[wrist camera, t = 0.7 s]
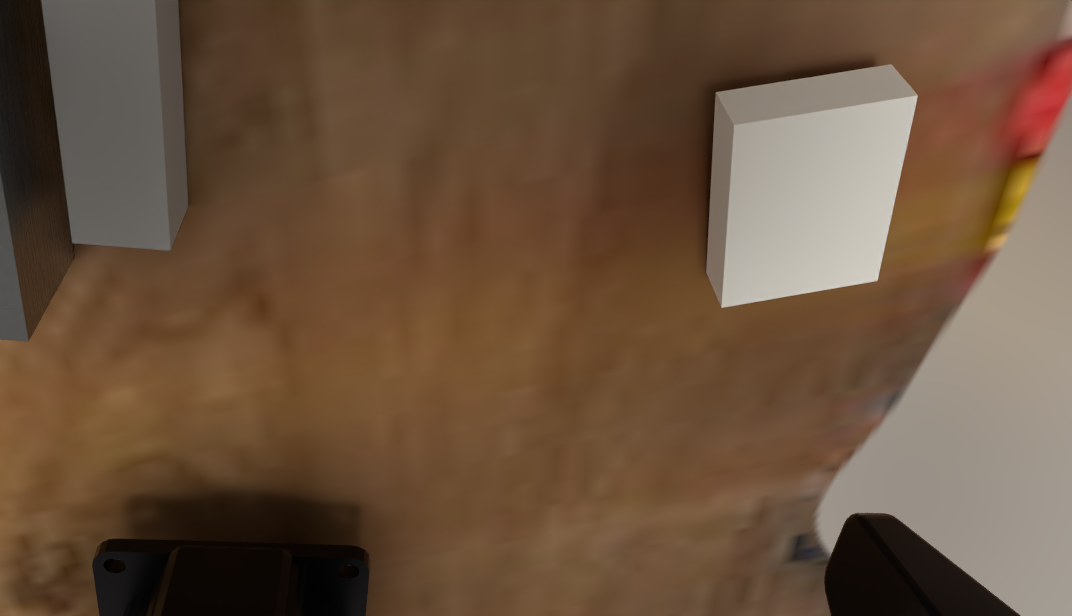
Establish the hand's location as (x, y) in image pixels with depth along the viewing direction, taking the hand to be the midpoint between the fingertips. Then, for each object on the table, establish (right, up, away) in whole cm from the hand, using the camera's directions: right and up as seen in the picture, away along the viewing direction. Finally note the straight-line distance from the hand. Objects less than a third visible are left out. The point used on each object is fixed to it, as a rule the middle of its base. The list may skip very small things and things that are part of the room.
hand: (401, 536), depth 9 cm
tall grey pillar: (-6, +8, +9) cm, 13 cm away
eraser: (+5, +7, +11) cm, 13 cm away
